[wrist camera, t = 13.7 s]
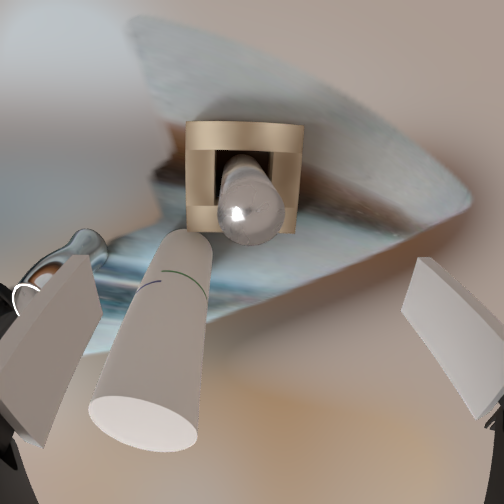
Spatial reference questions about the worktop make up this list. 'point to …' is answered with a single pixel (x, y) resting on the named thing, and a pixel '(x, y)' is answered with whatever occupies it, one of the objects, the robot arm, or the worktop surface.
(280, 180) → the socket block
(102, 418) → the cylindrical container
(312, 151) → the worktop surface
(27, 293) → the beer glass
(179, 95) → the worktop surface
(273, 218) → the peg
